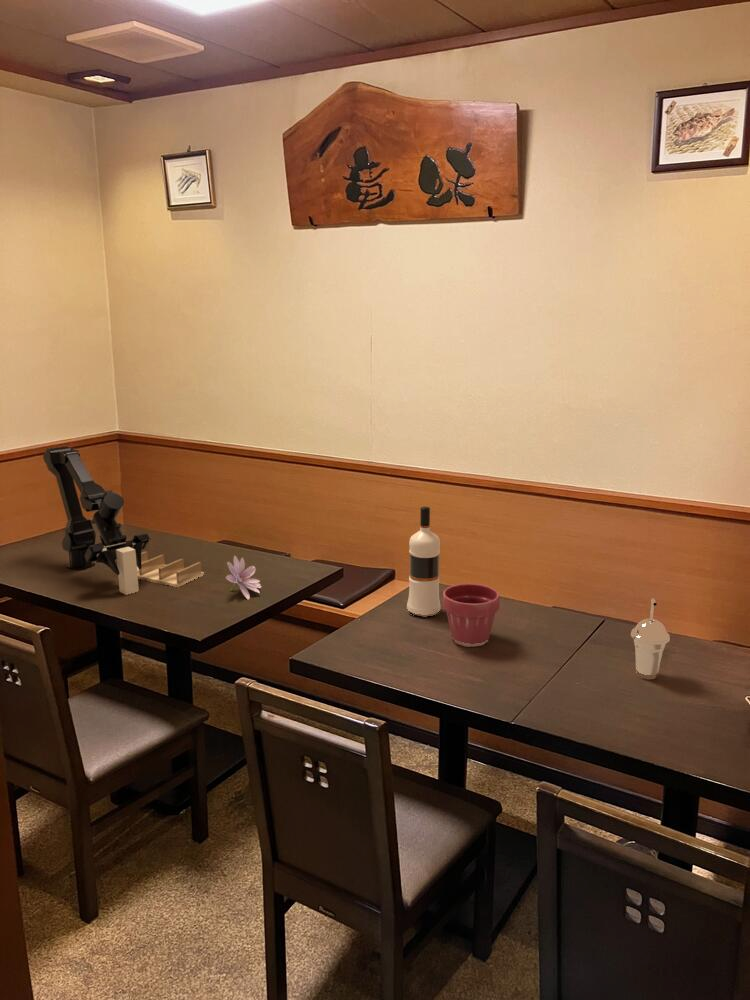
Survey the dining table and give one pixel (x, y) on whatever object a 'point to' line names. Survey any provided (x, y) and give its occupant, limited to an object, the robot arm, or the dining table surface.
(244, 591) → the water lily
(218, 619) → the dining table surface
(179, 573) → the drying rack
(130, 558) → the clay bar
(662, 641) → the cup with straw
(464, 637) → the plant pot
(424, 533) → the vodka
